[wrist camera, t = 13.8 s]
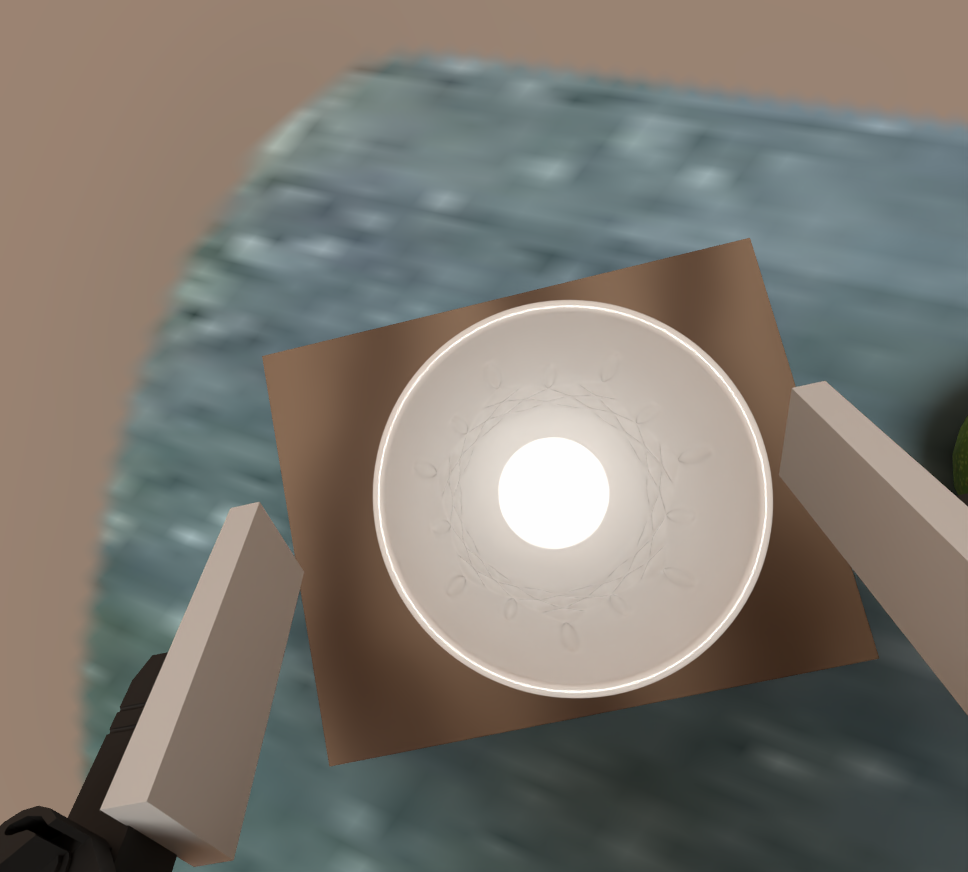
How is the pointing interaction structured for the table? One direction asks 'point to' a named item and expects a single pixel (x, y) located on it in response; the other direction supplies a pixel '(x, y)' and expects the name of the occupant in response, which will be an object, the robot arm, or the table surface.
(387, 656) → the walnut board
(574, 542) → the white cup
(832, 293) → the table surface
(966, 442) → the fruit
